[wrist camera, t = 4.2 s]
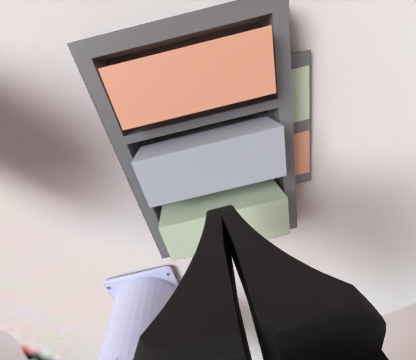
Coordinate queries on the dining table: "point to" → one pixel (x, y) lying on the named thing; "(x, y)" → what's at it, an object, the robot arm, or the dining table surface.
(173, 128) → the keypad frame
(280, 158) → the key slate
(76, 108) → the dining table surface
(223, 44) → the key terracotta
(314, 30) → the dining table surface
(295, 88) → the strip
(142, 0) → the dining table surface
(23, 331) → the dining table surface
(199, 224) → the key sage
